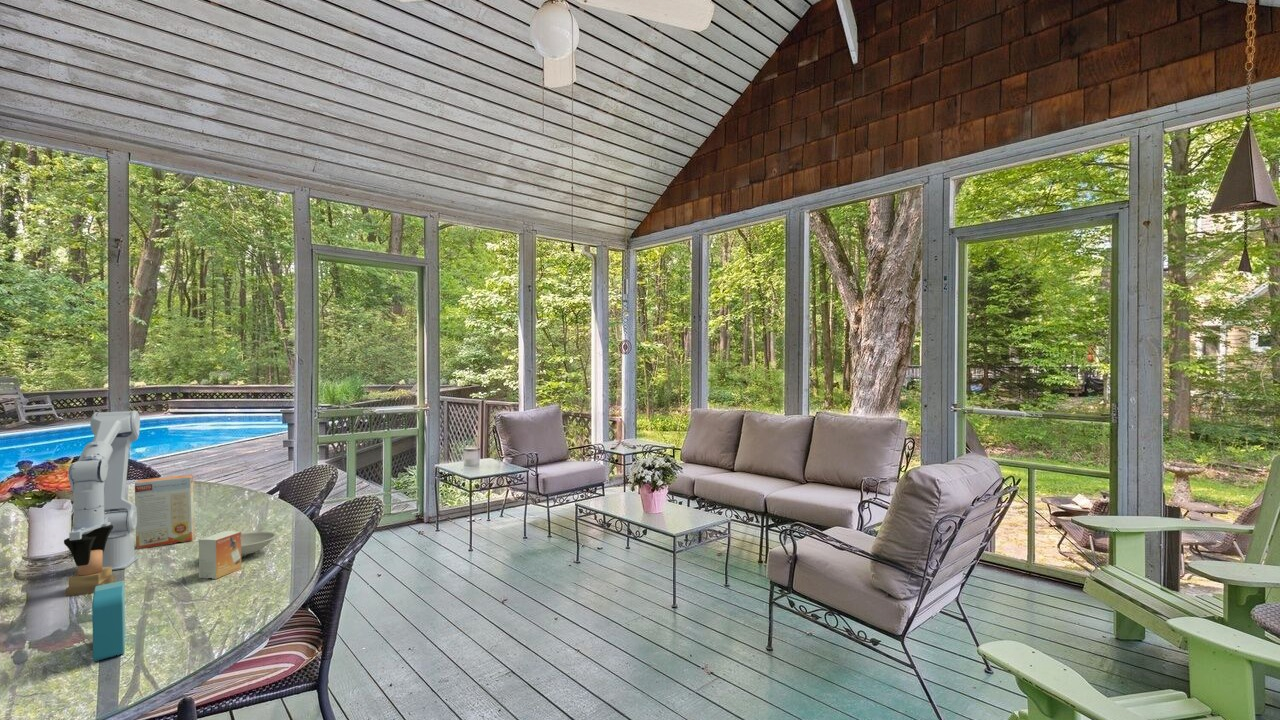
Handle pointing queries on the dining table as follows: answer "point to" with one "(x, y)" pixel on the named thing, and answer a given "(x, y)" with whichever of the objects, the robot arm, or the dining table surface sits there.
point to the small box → (219, 554)
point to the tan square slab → (87, 587)
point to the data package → (108, 620)
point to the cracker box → (164, 510)
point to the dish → (255, 541)
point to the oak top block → (90, 578)
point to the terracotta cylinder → (92, 563)
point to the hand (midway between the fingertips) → (90, 560)
